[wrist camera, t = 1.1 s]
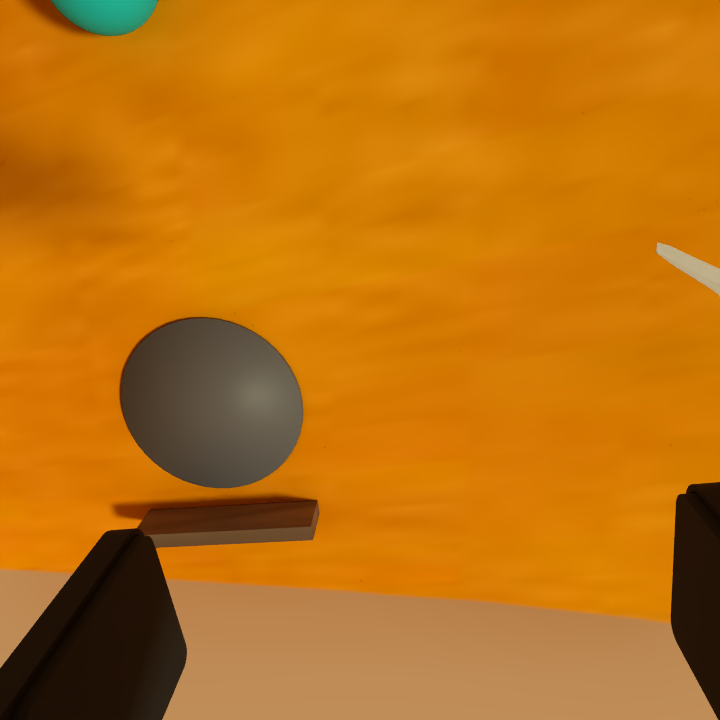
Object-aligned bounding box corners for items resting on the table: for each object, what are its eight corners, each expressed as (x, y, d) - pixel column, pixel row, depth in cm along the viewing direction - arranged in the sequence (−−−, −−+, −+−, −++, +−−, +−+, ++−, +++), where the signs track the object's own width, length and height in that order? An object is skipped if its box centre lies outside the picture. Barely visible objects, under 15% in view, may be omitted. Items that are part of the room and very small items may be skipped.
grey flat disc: (102, 326, 37) (100, 327, 37) (288, 309, 36) (287, 310, 36) (145, 491, 41) (143, 492, 41) (314, 481, 40) (314, 483, 39)
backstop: (150, 509, 41) (131, 535, 39) (317, 500, 40) (310, 526, 37) (153, 522, 42) (135, 548, 39) (319, 513, 40) (312, 539, 38)
